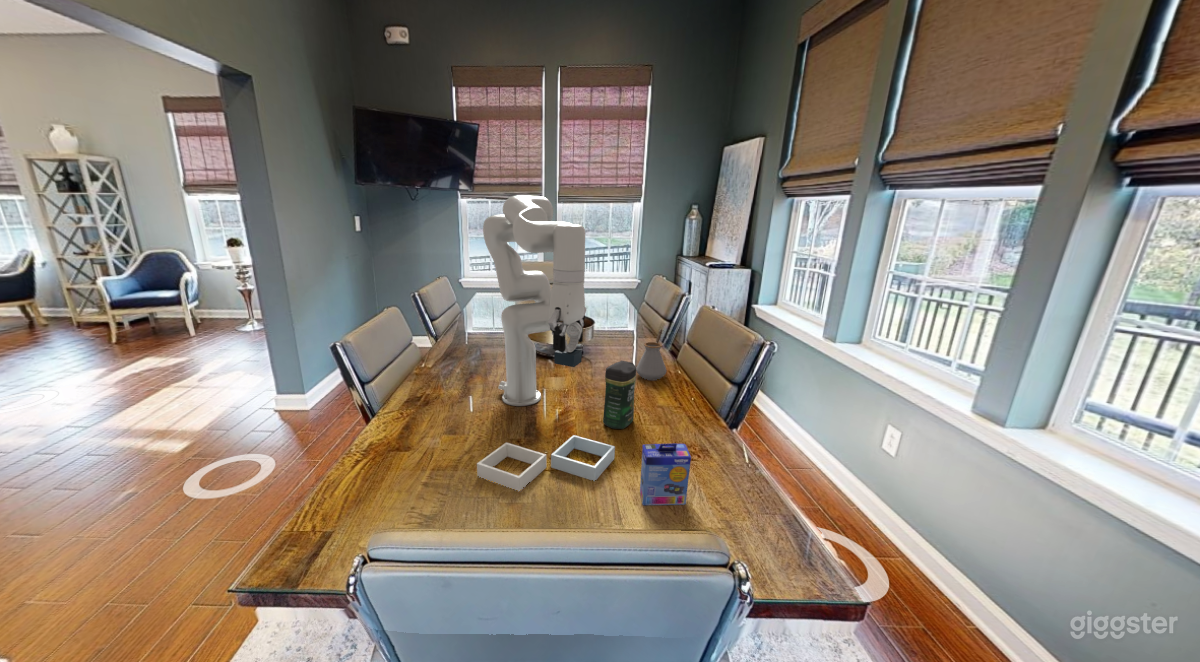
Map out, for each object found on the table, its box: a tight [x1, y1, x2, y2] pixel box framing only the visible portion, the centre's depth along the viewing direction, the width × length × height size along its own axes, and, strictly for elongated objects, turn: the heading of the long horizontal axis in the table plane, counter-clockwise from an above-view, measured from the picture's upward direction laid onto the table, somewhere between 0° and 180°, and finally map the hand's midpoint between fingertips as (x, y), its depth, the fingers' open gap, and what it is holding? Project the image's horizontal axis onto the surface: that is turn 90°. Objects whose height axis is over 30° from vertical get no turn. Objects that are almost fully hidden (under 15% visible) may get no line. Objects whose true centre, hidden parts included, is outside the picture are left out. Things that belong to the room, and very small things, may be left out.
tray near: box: [476, 442, 548, 492], centre depth 106 cm, size 12×11×4 cm
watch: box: [553, 321, 583, 368], centre depth 112 cm, size 6×8×11 cm
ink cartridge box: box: [639, 443, 692, 506], centre depth 96 cm, size 10×6×14 cm, turn 95°
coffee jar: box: [602, 360, 637, 430], centre depth 130 cm, size 10×8×19 cm
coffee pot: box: [636, 329, 667, 381], centre depth 171 cm, size 21×12×15 cm, turn 160°
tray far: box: [550, 434, 616, 482], centre depth 110 cm, size 12×11×4 cm
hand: (568, 345), depth 112 cm, fingers closed on watch, 8 cm apart
